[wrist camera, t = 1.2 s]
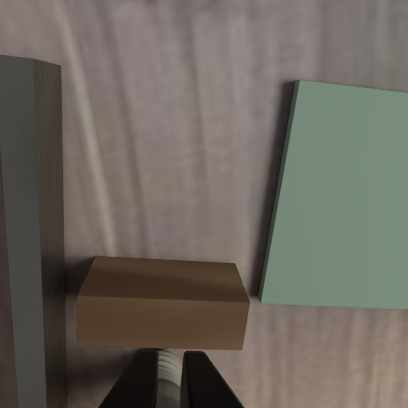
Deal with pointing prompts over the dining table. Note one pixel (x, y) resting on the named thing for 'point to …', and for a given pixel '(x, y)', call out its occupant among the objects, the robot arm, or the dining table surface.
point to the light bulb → (168, 380)
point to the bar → (34, 226)
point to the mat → (341, 201)
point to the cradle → (162, 305)
